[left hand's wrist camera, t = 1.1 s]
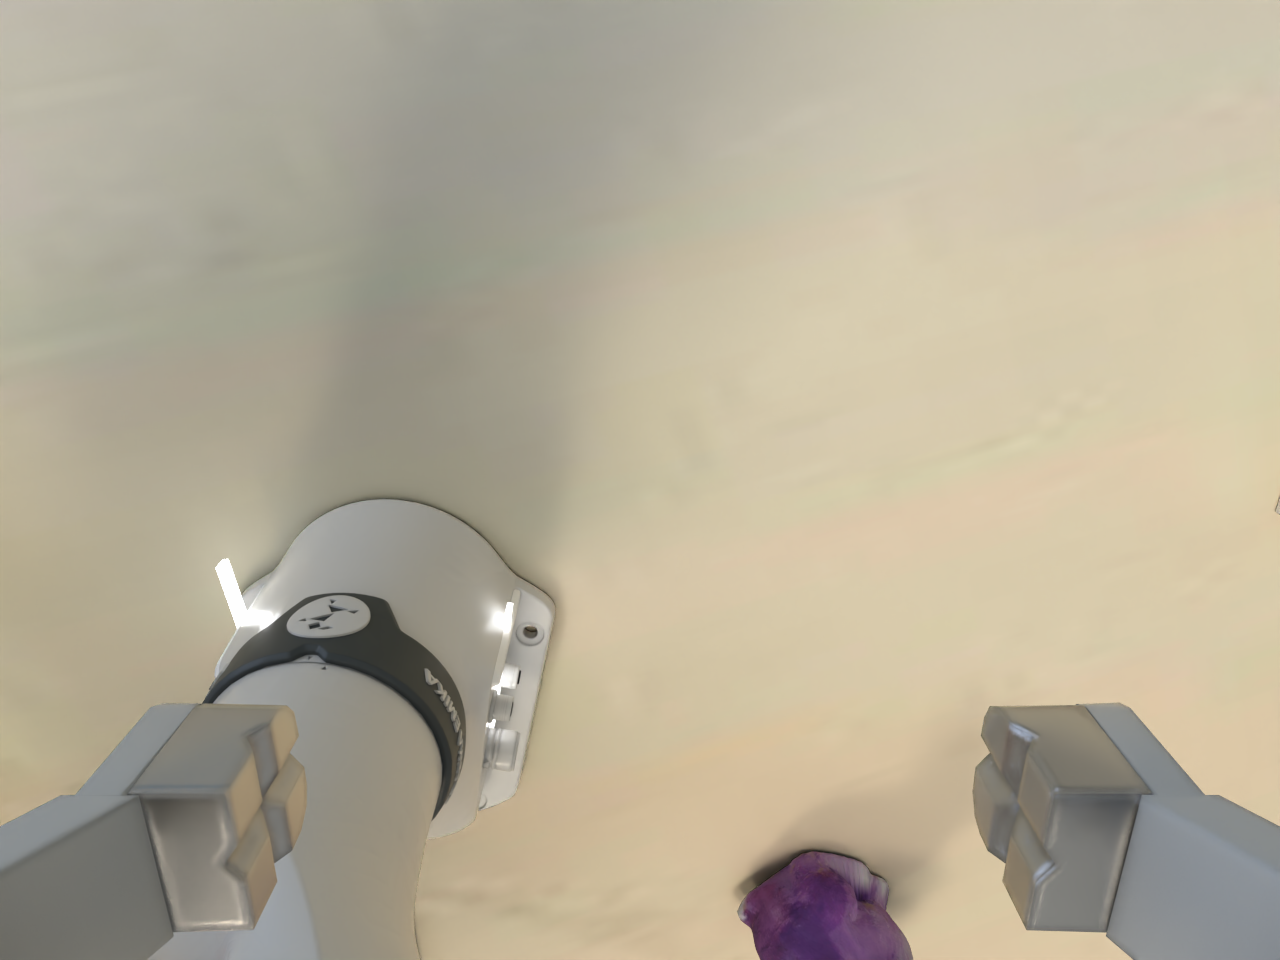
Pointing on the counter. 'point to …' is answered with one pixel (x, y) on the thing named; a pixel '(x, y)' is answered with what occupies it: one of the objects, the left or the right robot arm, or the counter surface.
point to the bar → (1278, 507)
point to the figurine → (823, 913)
